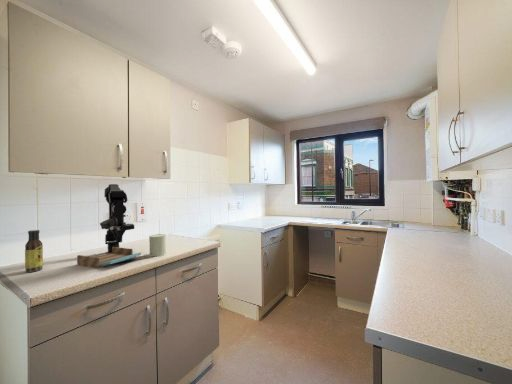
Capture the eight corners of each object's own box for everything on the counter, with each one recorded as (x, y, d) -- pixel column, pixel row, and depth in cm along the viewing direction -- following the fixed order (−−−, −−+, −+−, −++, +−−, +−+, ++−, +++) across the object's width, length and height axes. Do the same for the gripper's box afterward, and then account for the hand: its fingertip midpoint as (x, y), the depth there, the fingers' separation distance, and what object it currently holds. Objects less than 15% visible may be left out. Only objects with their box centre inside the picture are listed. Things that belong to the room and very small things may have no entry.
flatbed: (77, 265, 120) (77, 255, 120) (113, 255, 139) (113, 246, 139) (97, 268, 114) (97, 258, 114) (132, 257, 133) (132, 248, 133)
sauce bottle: (41, 271, 112) (40, 230, 112) (23, 273, 108) (22, 231, 108) (44, 267, 117) (43, 228, 117) (27, 270, 114) (26, 230, 114)
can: (168, 252, 142) (168, 233, 142) (161, 256, 133) (160, 236, 133) (154, 252, 143) (154, 233, 143) (146, 256, 134) (145, 236, 134)
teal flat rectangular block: (100, 263, 115) (110, 261, 112) (130, 254, 131) (140, 252, 128) (100, 266, 115) (111, 264, 112) (131, 257, 131) (141, 255, 128)
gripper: (91, 214, 121) (91, 243, 121) (115, 215, 113) (115, 247, 114) (111, 212, 131) (112, 239, 131) (134, 213, 124) (135, 242, 124)
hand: (118, 242), depth 125 cm, fingers closed
